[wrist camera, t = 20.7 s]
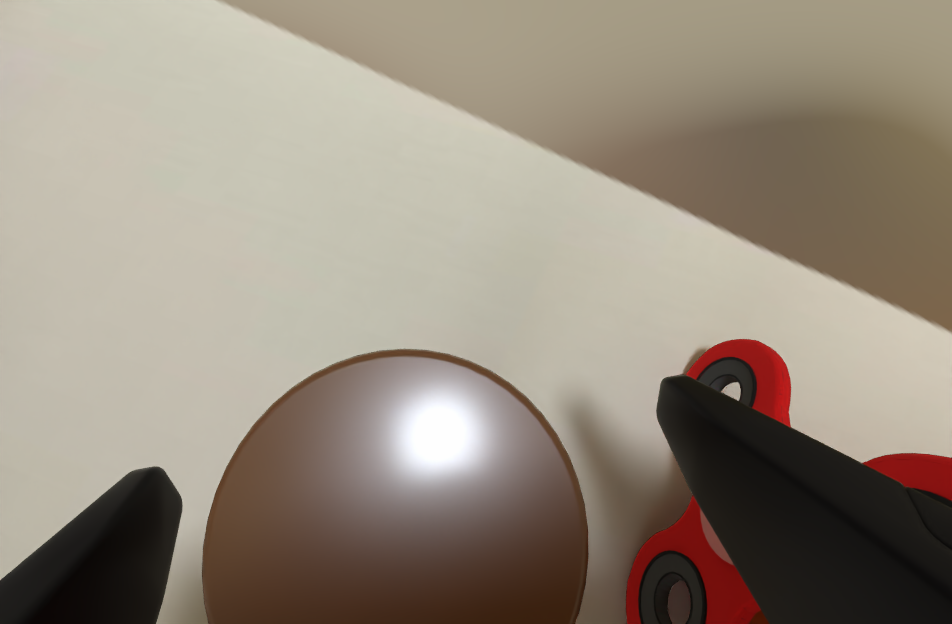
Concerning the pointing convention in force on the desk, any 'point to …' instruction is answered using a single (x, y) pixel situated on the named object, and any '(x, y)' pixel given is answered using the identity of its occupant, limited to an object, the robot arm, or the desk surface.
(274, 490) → the brown rod with base
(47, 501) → the desk surface
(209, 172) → the desk surface
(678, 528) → the toy
